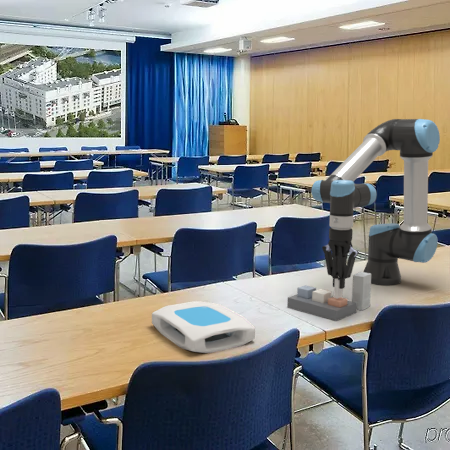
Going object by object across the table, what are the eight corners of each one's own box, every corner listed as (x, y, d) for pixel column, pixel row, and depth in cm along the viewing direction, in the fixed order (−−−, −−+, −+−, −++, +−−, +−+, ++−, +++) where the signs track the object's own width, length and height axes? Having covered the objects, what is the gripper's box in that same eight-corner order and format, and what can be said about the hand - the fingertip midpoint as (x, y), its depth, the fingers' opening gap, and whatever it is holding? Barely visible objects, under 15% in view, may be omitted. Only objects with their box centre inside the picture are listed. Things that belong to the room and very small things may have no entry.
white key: (319, 300, 208) (320, 288, 207) (331, 302, 205) (331, 291, 204) (312, 302, 205) (312, 291, 204) (323, 305, 202) (323, 294, 201)
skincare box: (358, 304, 212) (360, 271, 210) (370, 306, 209) (371, 273, 207) (350, 308, 207) (352, 274, 205) (362, 310, 205) (363, 276, 202)
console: (308, 299, 216) (308, 290, 216) (356, 312, 203) (356, 302, 202) (287, 307, 208) (287, 297, 207) (336, 321, 194) (336, 310, 194)
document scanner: (193, 357, 165) (192, 335, 163) (150, 327, 188) (150, 307, 187) (256, 343, 175) (257, 322, 174) (209, 316, 199) (209, 298, 198)
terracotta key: (335, 307, 204) (335, 296, 203) (347, 310, 201) (347, 299, 200) (327, 310, 201) (328, 298, 200) (339, 313, 197) (339, 301, 197)
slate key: (305, 296, 212) (305, 285, 212) (315, 298, 209) (316, 287, 209) (297, 298, 209) (297, 287, 208) (307, 301, 206) (308, 290, 205)
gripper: (317, 226, 197) (315, 295, 202) (351, 232, 189) (348, 304, 193) (330, 223, 203) (328, 290, 207) (364, 228, 194) (361, 299, 198)
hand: (338, 297), depth 200 cm, fingers closed
